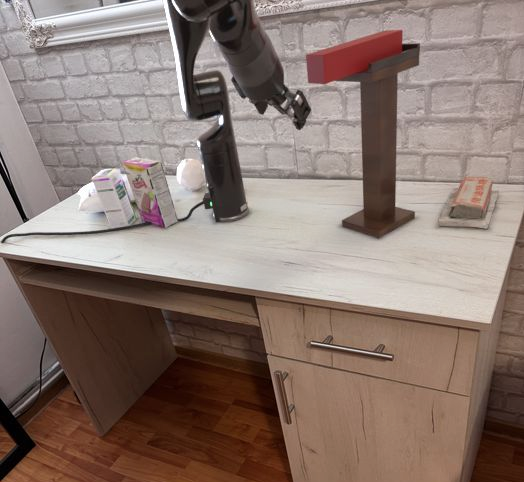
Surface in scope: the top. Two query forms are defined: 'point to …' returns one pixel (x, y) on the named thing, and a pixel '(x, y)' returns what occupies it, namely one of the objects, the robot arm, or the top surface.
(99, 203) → the pouch
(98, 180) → the syrup box
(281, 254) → the top surface
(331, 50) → the long red slab
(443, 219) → the packaged product
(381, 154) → the wooden lectern
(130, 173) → the candy bar box
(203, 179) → the decorative ball
